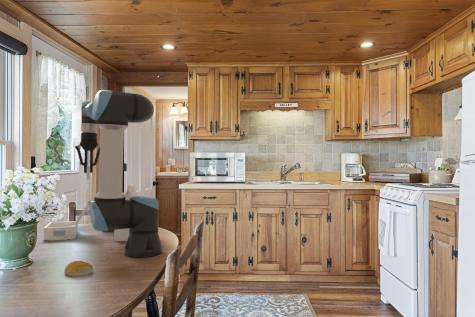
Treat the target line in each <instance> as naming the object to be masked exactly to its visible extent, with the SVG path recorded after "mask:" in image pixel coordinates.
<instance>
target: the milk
mask: <svg viewBox="0 0 475 317" xmlns="http://www.w3.org/2000/svg"><path fill="white" fill-rule="evenodd" d="M135 187H136V186H135V184H129V185H127V187H126V191H124V192H123V193H124V194H125V195H126V200H128V199H129V198H130V196H141V194H140V193H138V192H137V191H136V190H135ZM128 236H129V229H118V230H114V231H113V242H127V239H128Z"/></svg>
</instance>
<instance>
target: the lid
mask: <svg viewBox="0 0 475 317" xmlns="http://www.w3.org/2000/svg"><path fill="white" fill-rule="evenodd" d="M92 200H93V201H94V197H91V198H90V200H89V201H88V202H87V204H86V206H85V207H84V208H83V210H82V212H81V213H80V215H79V216H78V217H77V219H76V220H75V221H76V222H75V224H74V225H75V226H76V225H77V224H78V225H79V222H80V221H81V220H82V218H83V216H84V215H85V214H86V212H87V211H88V210H89V203H90V202H91V201H92Z"/></svg>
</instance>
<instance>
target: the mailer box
mask: <svg viewBox="0 0 475 317" xmlns="http://www.w3.org/2000/svg"><path fill="white" fill-rule="evenodd" d="M76 221H77V220H74V221H73V220H72V221H71V220H69V221H50V222H49V223H48V224H46V226H44V227H43V241H44V240H49V241H64V240H65V241H66V240H67V239H70V240H75V239H76V237H77V235H78V234H79V223H78V224H77V225H76V226H75V225H74V224H75V222H76Z"/></svg>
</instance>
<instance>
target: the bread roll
mask: <svg viewBox="0 0 475 317" xmlns="http://www.w3.org/2000/svg"><path fill="white" fill-rule="evenodd" d="M93 269H94V267H93V265H92V264H90V263H89V262H87V261H83V260H74V261H72V262H69V263H68V264H67V265H66V266H65V267H64V271H63V272H64V274H65V275H66V276H69V277H74V278H76V277H83V276H84V277H85V276H88V275H90V274H91V273H92V272H93Z"/></svg>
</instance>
